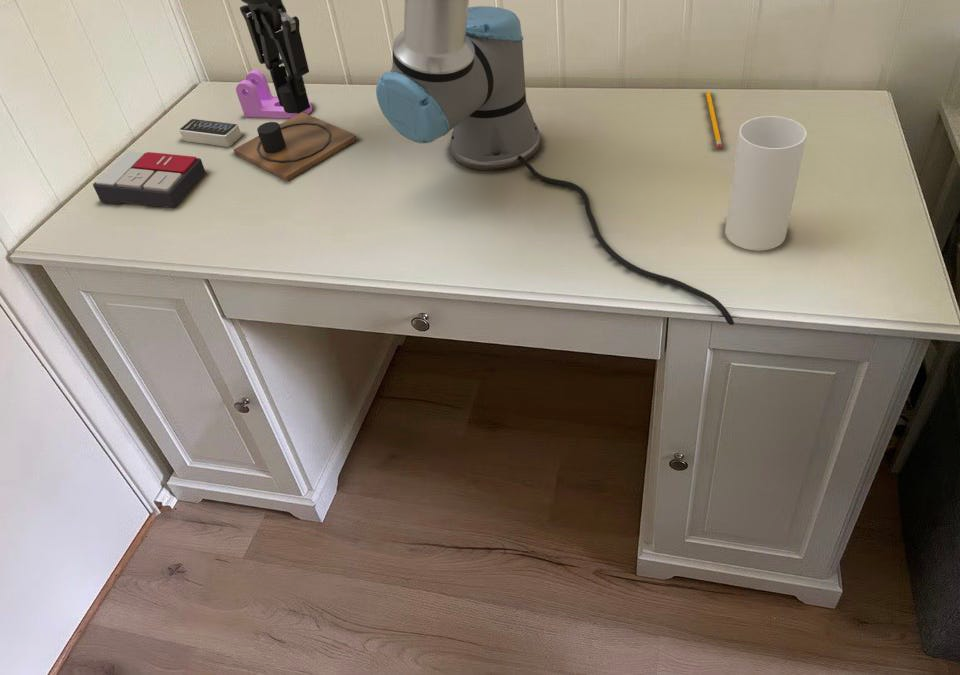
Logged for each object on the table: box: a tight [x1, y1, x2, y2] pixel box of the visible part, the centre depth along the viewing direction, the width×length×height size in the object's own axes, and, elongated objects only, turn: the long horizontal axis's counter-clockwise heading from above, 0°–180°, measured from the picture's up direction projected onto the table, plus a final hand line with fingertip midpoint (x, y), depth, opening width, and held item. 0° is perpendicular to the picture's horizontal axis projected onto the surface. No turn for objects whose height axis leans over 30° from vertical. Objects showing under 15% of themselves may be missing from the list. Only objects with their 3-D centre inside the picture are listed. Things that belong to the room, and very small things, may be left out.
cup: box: [724, 115, 808, 252], centre depth 106 cm, size 8×8×16 cm
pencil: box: [705, 91, 723, 150], centre depth 134 cm, size 1×18×1 cm, turn 174°
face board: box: [233, 112, 358, 182], centre depth 142 cm, size 16×16×1 cm
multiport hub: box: [178, 118, 243, 148], centre depth 147 cm, size 4×11×2 cm, turn 68°
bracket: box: [235, 69, 313, 119], centre depth 151 cm, size 13×6×7 cm, turn 76°
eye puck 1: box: [256, 121, 286, 153], centre depth 140 cm, size 4×4×4 cm
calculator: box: [92, 150, 206, 209], centre depth 136 cm, size 11×4×15 cm
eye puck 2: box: [278, 83, 296, 113], centre depth 139 cm, size 4×4×4 cm
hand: (295, 106), depth 141 cm, fingers closed on eye puck 2, 4 cm apart
